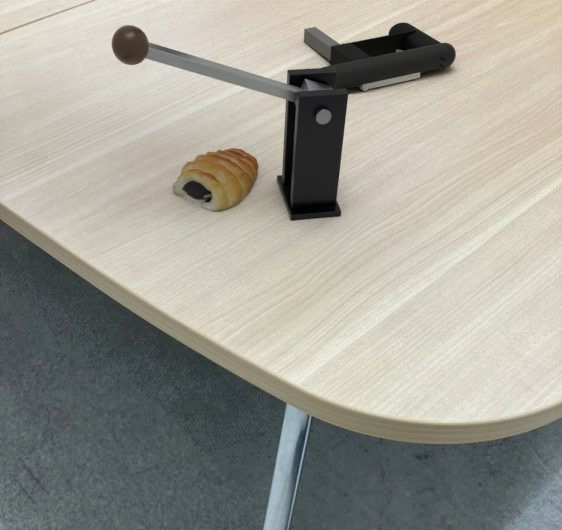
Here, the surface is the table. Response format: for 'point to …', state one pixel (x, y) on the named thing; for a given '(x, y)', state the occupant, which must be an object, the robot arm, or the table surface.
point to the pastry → (217, 178)
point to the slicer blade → (199, 65)
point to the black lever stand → (313, 146)
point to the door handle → (382, 56)
